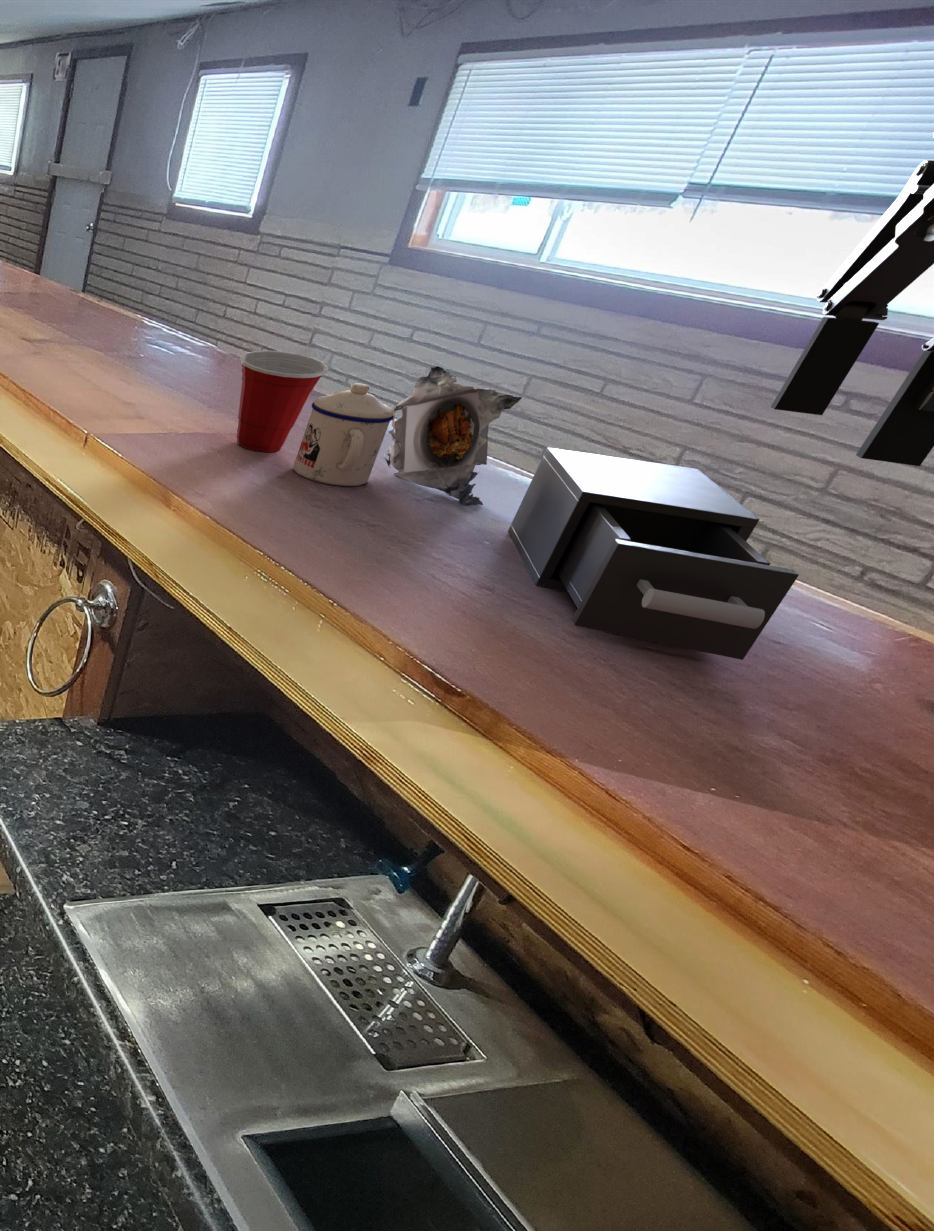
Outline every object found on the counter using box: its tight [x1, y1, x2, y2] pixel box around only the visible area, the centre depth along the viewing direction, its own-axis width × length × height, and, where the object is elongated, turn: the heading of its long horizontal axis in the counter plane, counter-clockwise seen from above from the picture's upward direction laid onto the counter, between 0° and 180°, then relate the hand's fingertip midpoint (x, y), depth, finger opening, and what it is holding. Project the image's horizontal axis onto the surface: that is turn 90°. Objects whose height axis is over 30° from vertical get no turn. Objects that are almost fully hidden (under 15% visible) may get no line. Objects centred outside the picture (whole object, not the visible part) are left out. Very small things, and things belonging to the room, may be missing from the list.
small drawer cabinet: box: [507, 446, 760, 592], centre depth 90 cm, size 16×13×10 cm
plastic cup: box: [236, 350, 329, 453], centre depth 122 cm, size 11×11×12 cm
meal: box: [383, 365, 523, 506], centre depth 111 cm, size 15×4×13 cm, turn 8°
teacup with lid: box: [293, 382, 395, 487], centre depth 111 cm, size 12×9×12 cm
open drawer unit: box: [555, 502, 800, 661], centre depth 79 cm, size 19×12×8 cm, turn 154°
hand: (837, 434), depth 61 cm, fingers open, 13 cm apart
